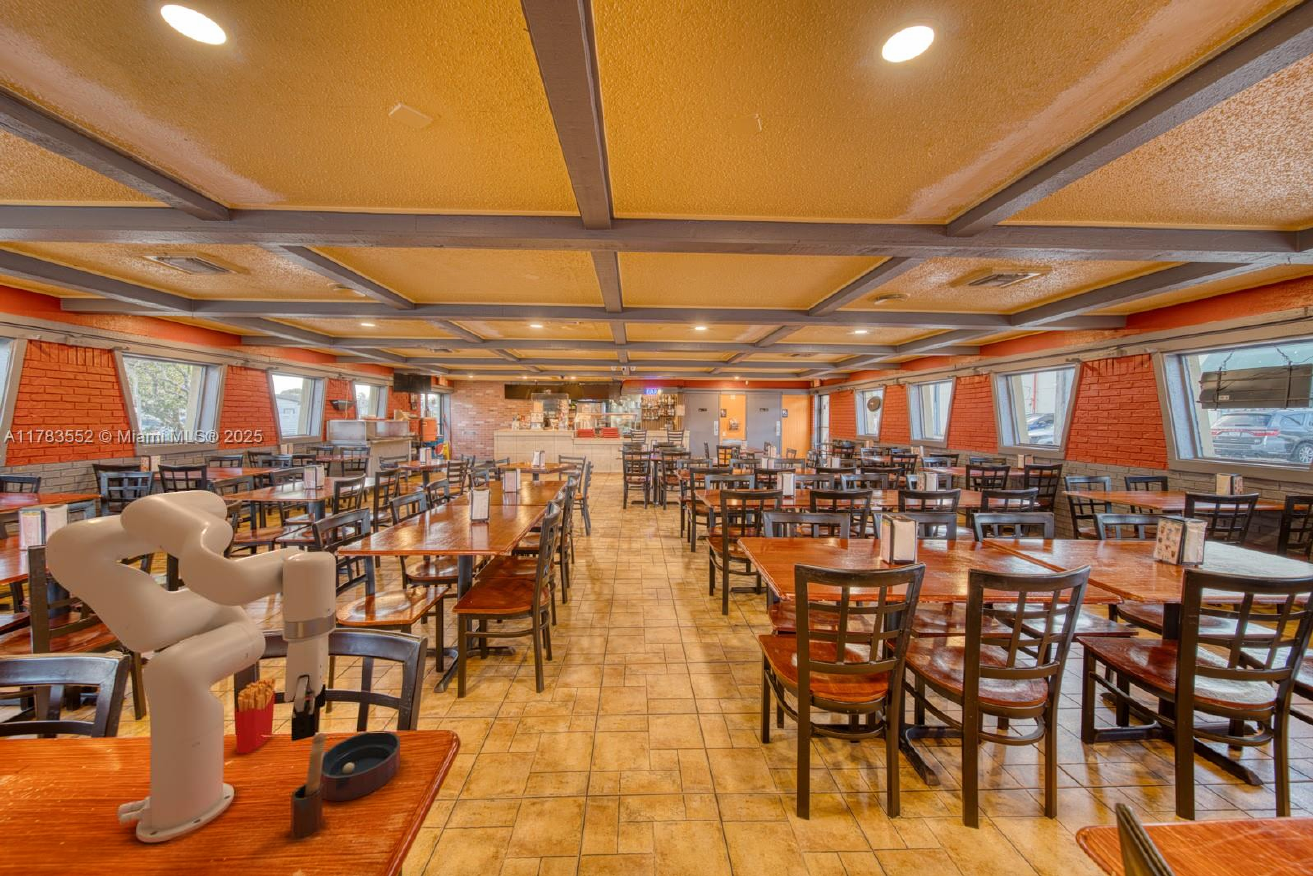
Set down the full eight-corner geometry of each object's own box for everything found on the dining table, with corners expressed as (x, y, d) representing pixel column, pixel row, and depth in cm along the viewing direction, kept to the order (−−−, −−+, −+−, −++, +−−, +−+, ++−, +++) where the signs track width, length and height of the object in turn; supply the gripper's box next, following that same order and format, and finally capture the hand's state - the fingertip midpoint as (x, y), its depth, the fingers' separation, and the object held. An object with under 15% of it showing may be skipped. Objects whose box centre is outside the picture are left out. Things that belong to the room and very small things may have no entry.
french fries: (248, 756, 101) (249, 696, 101) (228, 756, 101) (229, 696, 101) (280, 730, 110) (281, 674, 110) (262, 730, 110) (262, 674, 110)
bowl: (310, 814, 85) (310, 787, 86) (323, 766, 98) (324, 742, 98) (399, 788, 92) (399, 763, 92) (401, 746, 105) (401, 724, 105)
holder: (288, 845, 79) (288, 803, 79) (294, 826, 83) (294, 786, 83) (319, 835, 81) (320, 794, 81) (324, 817, 85) (324, 778, 85)
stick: (298, 833, 81) (311, 738, 82) (301, 825, 83) (314, 732, 83) (312, 830, 82) (325, 736, 82) (314, 822, 83) (327, 730, 84)
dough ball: (341, 778, 94) (342, 768, 94) (343, 772, 96) (343, 762, 96) (353, 775, 95) (353, 765, 95) (354, 769, 97) (355, 759, 97)
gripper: (294, 612, 88) (294, 703, 88) (269, 648, 73) (268, 758, 73) (342, 605, 92) (341, 693, 92) (327, 639, 76) (327, 744, 76)
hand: (309, 722), depth 82 cm, fingers open, 9 cm apart
